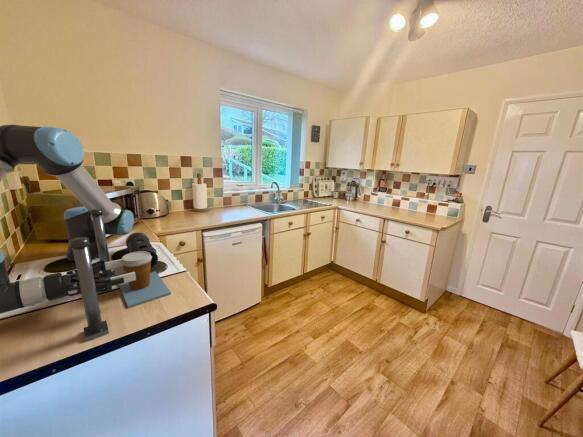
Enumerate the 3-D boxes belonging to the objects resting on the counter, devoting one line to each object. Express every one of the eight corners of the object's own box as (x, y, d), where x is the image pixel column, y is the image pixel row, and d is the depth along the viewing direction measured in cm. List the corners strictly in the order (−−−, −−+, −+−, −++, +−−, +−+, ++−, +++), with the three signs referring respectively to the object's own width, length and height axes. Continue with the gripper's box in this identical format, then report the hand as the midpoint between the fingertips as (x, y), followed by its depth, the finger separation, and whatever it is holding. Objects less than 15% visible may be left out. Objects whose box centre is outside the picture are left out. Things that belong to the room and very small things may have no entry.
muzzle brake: (133, 275, 97) (130, 251, 94) (126, 252, 118) (124, 232, 115) (159, 269, 103) (157, 247, 100) (148, 248, 123) (146, 229, 121)
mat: (118, 282, 90) (117, 281, 90) (155, 273, 99) (155, 271, 99) (128, 308, 76) (127, 306, 76) (171, 294, 85) (170, 292, 85)
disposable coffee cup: (132, 295, 82) (128, 264, 79) (119, 286, 86) (115, 256, 83) (159, 284, 90) (157, 255, 87) (146, 276, 94) (143, 248, 91)
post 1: (84, 331, 66) (65, 238, 59) (106, 323, 69) (91, 234, 62) (85, 341, 62) (65, 244, 55) (109, 333, 66) (92, 240, 59)
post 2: (98, 277, 94) (87, 209, 87) (114, 273, 97) (104, 208, 90) (100, 282, 90) (88, 212, 83) (116, 278, 94) (105, 210, 87)
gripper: (49, 282, 78) (125, 265, 93) (45, 322, 61) (140, 293, 75) (44, 262, 76) (123, 247, 91) (39, 296, 59) (138, 272, 73)
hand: (131, 268), depth 83 cm, fingers open, 13 cm apart
